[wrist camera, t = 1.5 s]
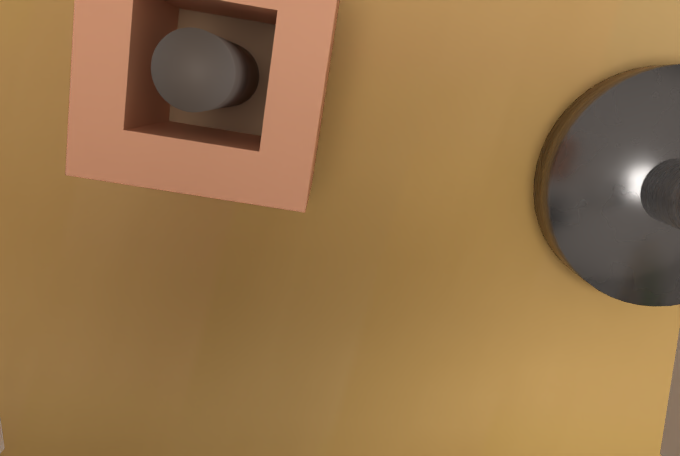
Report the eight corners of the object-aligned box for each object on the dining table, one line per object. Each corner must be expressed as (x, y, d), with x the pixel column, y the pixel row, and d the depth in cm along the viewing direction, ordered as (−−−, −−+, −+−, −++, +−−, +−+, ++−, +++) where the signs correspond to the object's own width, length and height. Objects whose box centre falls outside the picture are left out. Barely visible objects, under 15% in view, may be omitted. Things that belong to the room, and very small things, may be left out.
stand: (163, 133, 30) (82, 155, 21) (176, -9, 29) (95, -58, 19) (297, 155, 31) (279, 186, 21) (317, 15, 29) (309, -21, 19)
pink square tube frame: (122, 156, 28) (65, 174, 22) (137, -48, 26) (79, -88, 20) (311, 186, 28) (305, 212, 22) (341, -12, 26) (343, -41, 20)
